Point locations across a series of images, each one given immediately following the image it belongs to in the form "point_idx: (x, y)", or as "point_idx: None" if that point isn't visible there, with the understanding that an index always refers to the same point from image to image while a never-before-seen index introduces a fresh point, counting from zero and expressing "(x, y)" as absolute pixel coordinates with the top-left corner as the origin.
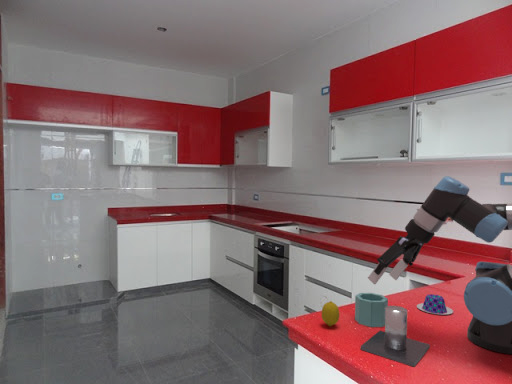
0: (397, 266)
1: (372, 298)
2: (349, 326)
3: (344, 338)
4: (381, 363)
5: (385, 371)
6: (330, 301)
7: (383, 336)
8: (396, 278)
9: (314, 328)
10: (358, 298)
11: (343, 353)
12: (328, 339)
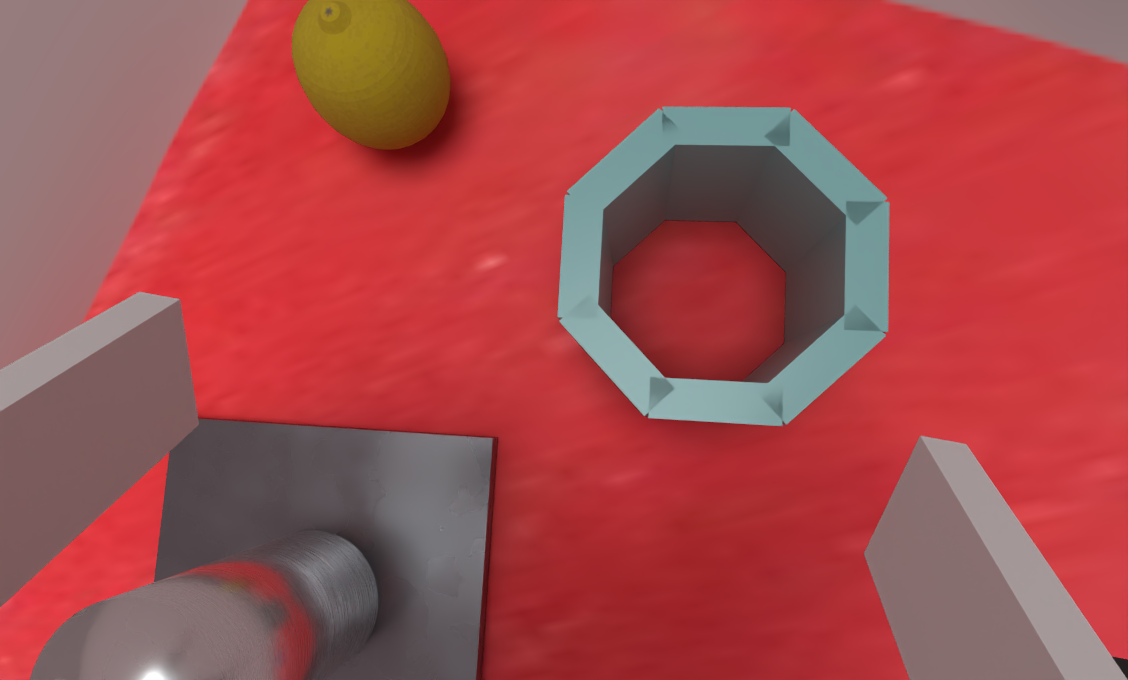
0: (1014, 675)
1: (831, 242)
2: (494, 218)
3: (284, 275)
4: (93, 574)
5: (21, 619)
6: (324, 11)
7: (401, 493)
8: (877, 578)
9: None
10: (592, 169)
11: None
12: (214, 204)
